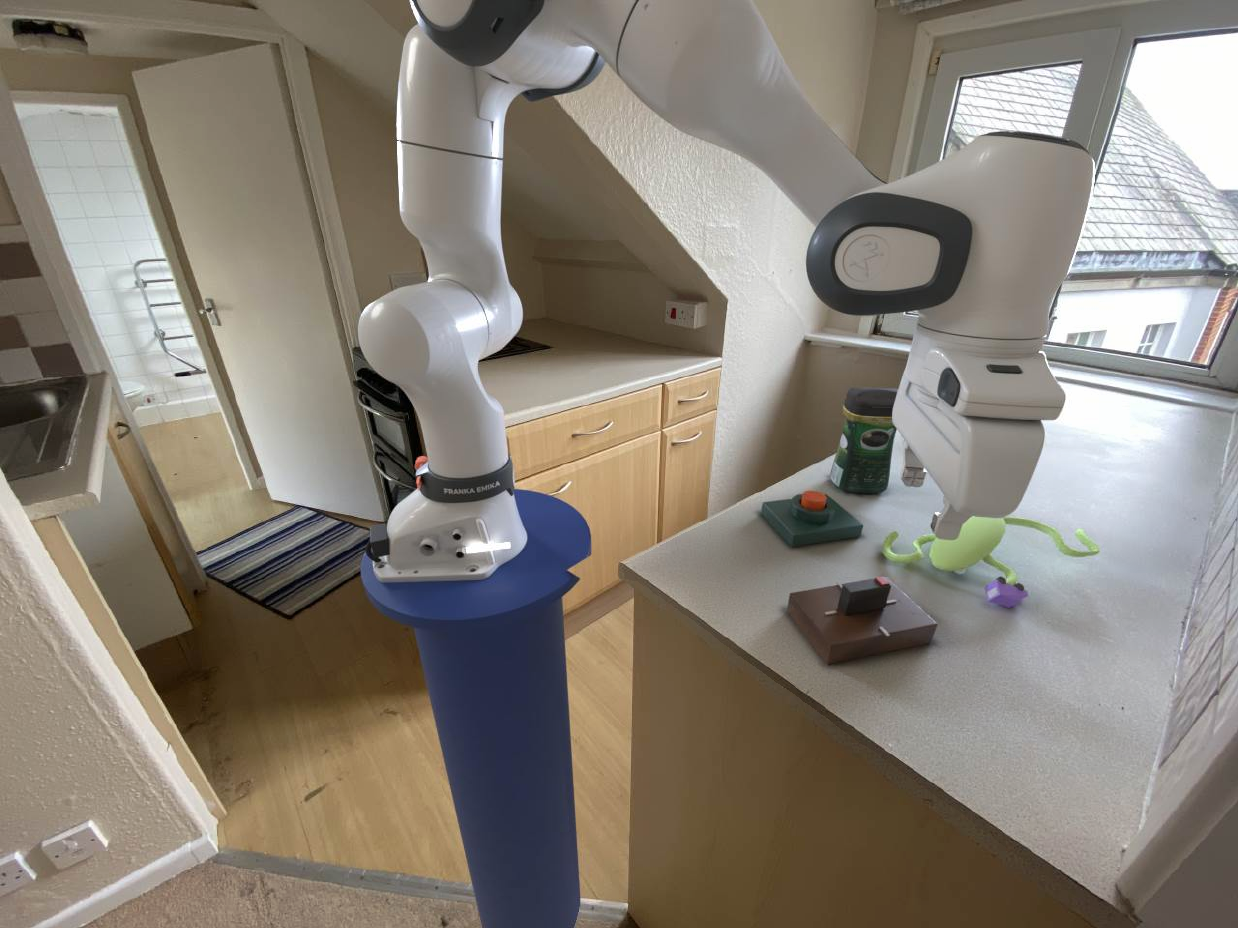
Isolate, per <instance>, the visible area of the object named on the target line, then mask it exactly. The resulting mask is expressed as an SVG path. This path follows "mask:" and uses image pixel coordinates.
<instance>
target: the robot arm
mask: <svg viewBox="0 0 1238 928" xmlns="http://www.w3.org/2000/svg"><path fill="white" fill-rule="evenodd" d="M409 4H410V7H411V9H412V12H413V14H414V17H415V20H416V21H417V24H415V25H414V26H413V27H412V28H411V29H409V31H408V32H407V34H406V36H405V38H404V42H403V46H402V52H401V59H400V64H399V65H400V66H399V68H400V69H399V76H398V85H397V99H396V101H397V102H396V139H397V140H398V141H396V145H397V147H396V148H397V173H398V175H397V176H398V199H399V200H398V201H399V215H400V219H401V221H402V223H403V225H404V226H405V228H406V229H407V231H408V232H409V233H410V234H411V235H412V236H414V237H415V238H416V239H418V242H419V244H420V246H421V248H422V251H423V253H424V258H425V260H426V265H427V269H428V280H427V281H425V282H420V283H416V284H410V285H406V286H405V285H404V286H400V287H398V288H395V289H394V290H391V291H390V292H387V293H386V294H384V295H382V296H381V297H379V298H378V299H376V300H374V301H373V302H371V303H370V304H368V305H367V306H366V307H365V308H364V309H363V311H362V312H361V314H360V316H359V320H358V323H357V336H358V343H359V348H360V349H361V353H362V354H363V356H364V359H365V360H366V361H367V363H368V364H369V366H370V367H371V368H372V369H373V370H374V371H375V372H376V373H377V374H378V375H379V376H381V377H382V378H383V379H385V380H387V381H388V382H390V383H393V384H395V385H396V386H398V387H399V388H400V389H401V390H402V391H403V392H404V393H405V395H406V396H407V398H408V400H409V402H411V404H412V406H413V408H414V410H415V412H416V415H417V417H418V420H419V423H420V428H421V432H422V437H423V442H424V446H425V451H426V455H425V456H424V455H421V456H418V457H416V460H415V464H414V469H415V482H416V489H415V490H414V491H412V492H411V493H410V494H409V495H407V496H406V497H405V498H403V499H402V500H401V501H399V502H398V503H397V504H396V506H394V508H393V509H392V511H391V513H390V515H389V517H388V520H387V523H386V522H383V523H379V524H375V525H374V524H373V525H370V526H369V539H368V542H367V544H366V546H365V551H364V553H365V552H366V554H367V556H368V557H369V558H370V559H371V560H373V570H374V574H375V576H376V578H377V579H378V580H379V581H380V582H385V583H389V582H426V581H461V580H483V579H486V578H487V577H489V576H490V575H491V574H492V573H493V572H494V571H495V570H496V569H497V568H498V567H499V566H500V565H502V564H504V563H505V562H507V561H509V560H511V559H512V558H514V557H515V556H516V555H518V554H519V553H520V552H521V551H522V549H523V548H524V547H525V545H526V542H527V532H526V530H525V528H524V526H523V524H522V521H521V519H520V516H519V512H518V509H517V505H516V502H515V497H514V491H515V489H516V480H515V479H516V478H515V469H514V464H513V461H512V460H513V459H512V456H511V454H510V452H509V449H508V440H507V439H508V438H507V429H506V420H505V411H504V408H503V405H502V404H501V403H500V402H499V400H498V399H496V398H495V397H494V396H492V395H490V394H488V393H487V392H486V389H485V388H484V385H483V383H482V380H481V376H480V374H479V366H478V365H479V361H481V360H483V359H485V358H487V357H489V356H491V355H493V354H495V353H497V352H499V351H501V350H502V349H503V348H505V347H506V346H507V345H508V344H509V343H510V342H511V340H513V338H514V337H515V336H516V335H517V334H518V332H519V331H520V329H521V326H522V324H523V319H524V309H523V305H522V301H521V299H520V297H519V294H518V293H517V291H516V290H515V289H514V287H513V286H512V285H511V283H510V279H509V275H508V271H507V267H506V261H505V257H504V250H503V244H502V242H503V241H502V230H501V228H502V227H501V225H502V223H501V220H502V219H501V217H502V192H503V191H502V188H503V165H504V160H503V159H504V131H505V121H506V116H507V112H508V110H509V109H508V108H509V106H510V104H511V103H512V101H514V99H515V98H516V97H517V96H519V95H520V94H521V95H522V97H523V98H525V99H526V100H527V101H529V102H532V103H534V102H538V101H540V100H544V99H547V98H551V97H555V96H562V95H565V94H570V93H573V92H577V91H579V90H582V89H584V88H586V87H588V86H589V85H591V83H593V82H594V81H595V80H596V79H597V78H598V77H599V75H600V74H601V72H602V71H603V69H604V67H605V65H606V64H608V66H609V67H610V68H611V70H612V71H613V72H614V73H615V74H616V75H617V77H618V78H619V79H620V80H621V81H622V82H623V83H624V85H626V87H627V88H628V89H629V90H630V91H631V92H632V93H633V94H634V95H635V97H636V98H637V99H638V100H640V101H641V102H642V103H643V104H644V105H645V106H646V107H647V108H648V109H650V110H651V111H652V112H653V113H655V114H656V115H657V116H658V117H660V118H661V119H662V120H663V121H665V122H666V123H668V124H669V125H671V126H672V127H674V128H675V129H677V130H678V131H680V132H682V133H683V134H685V135H688V136H690V137H693V138H695V139H697V140H701V141H704V142H706V143H709V144H712V145H715V146H717V147H719V148H722V149H724V150H727V151H729V152H731V153H733V154H736V155H737V156H739V157H741V158H743V159H745V160H746V161H748V162H750V163H751V164H752V165H754V166H755V167H756V168H758V169H759V170H760V171H761V172H763V174H765V175H766V176H767V177H768V178H769V180H771V181H772V182H773V183H774V184H775V186H776V187H778V189H779V190H780V191H781V192H782V193H783V194H784V195H785V196H786V197H787V198H788V200H789V201H790V202H791V203H792V204H793V205H794V206H795V207H796V208H797V209H798V210H799V211H800V212H801V213H802V215H804V217H805V218H806V219H807V220H808V221H809V222H810V223H811V224H812V225H813V226H814V228H815V229H814V230H813V233H812V235H811V237H810V240H809V242H808V246H807V250H806V254H805V255H806V256H805V268H806V275H807V280H808V282H809V285H810V287H811V289H812V292H813V293H814V294H815V295H816V297H817V298H818V299H819V300H820V301H821V302H822V303H823V304H824V305H825V306H827V307H828V308H830V309H832V310H833V311H836V312H838V313H841V314H844V315H848V316H849V315H850V316H854V317H874V316H880V315H889V314H891V315H892V314H901V313H908V312H909V313H910V312H917V313H918V317H917V321H916V325H915V330H914V333H913V337H912V342H911V345H910V350H909V353H908V358H907V362H906V366H905V368H904V371H903V373H902V376H901V380H900V383H899V385H898V388H897V389H898V392H897V395H896V399H895V402H894V406H893V411H892V423H893V425H894V426H895V427H896V429H897V430H896V431H897V432H898V433H899V434H900V436H901V437H902V438H903V440H902V441H903V442H902V468H901V471H900V475H899V478H900V480H901V481H902V482H903V484H904V486H906V487H907V488H908V487H909V488H911V487H913V488H920V487H922V486H923V485H924V483H925V479H926V475H927V473H928V474H929V476H930V477H931V479H932V480H933V482H934V483H935V484H936V486H937V487H938V489H939V490H940V491H941V493H942V494H943V498H942V503H943V504H944V505H943V507H942V509H941V510H940V511H939V512H936V511H934V513H933V515H932V519H931V522H930V529H931V532H932V534H935V536H936V537H937V538H938V539H944V540H955V539H957V538H958V537H959V534H960V531H961V528H962V525H963V524H964V523H965V522H966V521H967V520H969V519H970V518H971V517H972V516H975V517H986V518H1004V517H1006V516H1007V517H1009V515H1011V514H1013V513H1014V512H1015V511H1016V510H1018V507H1019V506H1020V504H1021V503H1022V501H1023V498H1024V497H1025V494H1026V492H1027V490H1028V487H1029V486H1030V483H1031V481H1032V478H1033V476H1034V473H1035V471H1036V468H1037V465H1038V463H1039V460H1040V458H1041V455H1042V452H1043V449H1044V444H1045V438H1046V437H1045V436H1046V431H1045V426H1044V424H1043V421H1056V420H1057V419H1058V418H1059V417H1060V415H1061V413H1062V411H1063V410H1064V406H1065V403H1066V399H1067V398H1066V397H1067V396H1066V392H1065V391H1064V389H1063V387H1062V386H1061V384H1060V382H1059V381H1058V380H1057V378H1056V376H1055V375H1054V373H1053V372H1052V370H1051V368H1050V365H1049V363H1048V359H1047V355H1046V354H1045V352H1044V351H1042V350H1043V346H1044V344H1045V341H1046V339H1047V335H1048V332H1049V330H1050V329H1049V328H1050V310H1051V306H1052V305H1051V304H1052V302H1053V299H1054V297H1055V295H1056V293H1057V291H1058V289H1059V288H1060V287H1061V286H1062V284H1063V283H1064V281H1065V280H1066V279H1067V277H1068V275H1069V272H1070V271H1071V267H1072V265H1073V262H1074V259H1075V256H1076V254H1077V250H1078V247H1079V244H1080V241H1081V239H1082V235H1083V231H1084V227H1085V225H1086V221H1087V217H1088V213H1089V208H1090V205H1091V200H1092V196H1093V191H1094V184H1095V175H1096V172H1095V171H1096V168H1095V161H1094V158H1093V157H1092V156H1091V154H1090V152H1089V151H1088V150H1087V148H1085V147H1084V146H1083V145H1082V144H1080V143H1079V142H1076V141H1074V140H1072V139H1067V138H1065V137H1062V136H1058V135H1052V134H1045V133H1039V132H1032V131H1031V132H1030V131H1019V130H1018V131H1009V130H1000V131H990V132H987V133H984V134H980V135H978V136H976V137H975V138H974V139H973V140H971V141H970V142H969V143H968V144H966V145H965V146H963V147H962V148H961V149H959V150H957V151H955V152H953V153H952V154H950V155H949V156H947V157H945V158H942V159H941V160H939V161H937V162H935V163H933V164H931V165H929V166H927V167H926V168H922V169H921V170H919V171H916V172H914V173H912V174H909V175H907V176H904V177H902V178H900V179H896V180H894V181H891V182H887V181H884V180H883V179H881V178H879V177H878V176H876V175H875V174H874V173H873V172H871V171H870V170H869V169H868V168H867V167H866V166H865V165H864V164H863V163H862V162H861V161H860V160H859V159H858V157H857V156H856V155H855V154H854V153H853V152H852V151H851V150H850V148H849V147H848V146H847V145H846V144H845V143H844V142H843V141H842V140H841V139H840V138H839V136H838V135H837V134H836V133H835V132H834V131H833V130H832V129H831V127H829V125H828V124H827V123H826V122H825V121H824V120H823V118H822V117H820V116H819V114H817V112H816V111H815V110H814V108H813V107H812V105H811V103H810V102H809V101H808V99H807V98H806V97H805V95H804V93H803V91H802V90H801V88H800V87H799V85H798V83H797V82H796V80H795V78H794V76H793V74H792V72H791V70H790V68H789V67H788V65H787V63H786V60H785V59H784V57H783V55H782V52H781V51H780V49H779V47H778V45H777V43H776V41H775V39H774V37H773V36H772V33H771V32H770V30H769V28H768V26H767V24H766V22H765V20H764V18H763V16H762V15H761V12H760V11H759V9H758V7H757V6H756V4H755V2H754V0H409ZM371 548H372V551H373V553H372V551H371Z"/></svg>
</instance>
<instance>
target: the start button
mask: <svg viewBox="0 0 1238 928" xmlns="http://www.w3.org/2000/svg"><path fill="white" fill-rule="evenodd" d="M802 494H803V495H802V500H801V505H802V506H803V507H805V508H807V509H809V510H816V511H818V510H823V509H824V508H825V503H826V496H825V495H824V494H825V493H822V492H820V491H818V490H806V491H804V492H803V493H802Z"/></svg>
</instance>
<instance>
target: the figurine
mask: <svg viewBox="0 0 1238 928" xmlns="http://www.w3.org/2000/svg"><path fill="white" fill-rule="evenodd" d="M1006 525H1010V526H1020V527H1025V528H1030V529H1034V530H1036V531H1040V532H1042V533H1043V534H1044V533H1045V534H1046V535H1049V536H1050V537H1051V539H1052V540H1053V542H1054V546H1055V547H1056V548H1057V550H1058V552H1060V553H1062V554H1063V555H1065V556H1068V557H1072V558H1084V557H1089V556H1090V557H1093V556H1095V555H1097V554H1099V553H1100V552H1101V547H1100V546H1099V545H1098V544H1097V543H1095V541H1093V540H1092V539H1091V538H1089V536H1088V535H1087V534H1086V531H1085V530H1084V529H1082V528H1077V529H1076V530H1075V532H1074V536H1075V537H1076V538H1077V539H1078V540H1079V542H1080V543H1081V544H1082V545H1084V546H1085V547H1086V548H1087V549H1088V551H1086V550H1085V551H1083V550H1078V549H1075V548H1072V547H1071V546H1068V545H1067V544H1066V543H1065V541H1064V539H1063V536H1062V534H1061V533H1060V531H1059V530H1057V528H1055V527H1053V526H1051V525H1048V524H1046V523H1043V522H1041V521H1036V520H1033V519H1029V518H1022V517H1015V516H1006V517H1004V518H986V517H975V516H972V517H971V518H970V519H969V520H967V521H966V522H965V523H964V524H963V525H962V528H961V531H960V534H959V537H958V538H957V539H955V540H944V539H938V538H937V537H936V536H935V534H934V533H926V534H924V535H921V536H919V537H918V538H916V539H915V540H914V541H912V546H913V547H914V548H915V549H916V551H915V552H913V553H909V554H896V553H894V552H893V551H892V550H891V547H892V544H893V543H894V541H895V540H896V539H897V538H898V537H899V536H900V533H899V532H897V531H891V532H890V533H889V534H888V535H887V536H886V537H885V539H884V540H883V542H882V546H881V552H882V554H883V556H884V557H885V558H887V560H888V561H891V562H893V563H899V564H912V563H916V562H919V561H920V560H922V559H924V554H923V552H922V549H921V547H922V546H924V545H925V544H927V543H930V542H932V543H931V545H930V549H929V554H928V557H929V560H930V562H931V565H932V567H934V568H936V569H937V570H940V571H944V572H954V573H955V574H958V575H959V576H963V575H964V574H965V573H966V572H967V568H969V567H972V566H975V565H976V564H977V563H979V562H980V561H983V562H984V563H985V564H987V565H989V566H991V567H993V568H995V569H997V570H999V571H1000V572H1003V573H1004V575H1005V577H1004V576H997V577H996V579H995V580H994V581H992V582H990V583H988V584H987V585H986V584H985V585H984V586H983V587H984V591H985V596H986V600H987V602H989V603H992V604H995V605H998V606H1001V607H1005V608H1009V609H1010V608H1012V607H1014V606H1017V605H1019V604H1020V603H1022V600H1023V599H1025V598H1026V597H1029V592H1028V590H1025V586H1024V585H1023V584H1022V583H1020V582H1018V577H1017V574H1016V571H1015V570H1013V569H1012V568H1011V567H1009V566H1008V565H1005V564H1004V563H1003V562H1001V561H999V560H997V559H996V558H994V557H993V556H992V555H991V554H992V552H993V551H994V550H995V549H996V548H997V547H998V546H999V545H1000V543H1001V542H1002V539H1003V537H1004V535H1005V533H1006Z"/></svg>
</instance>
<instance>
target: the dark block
mask: <svg viewBox="0 0 1238 928" xmlns="http://www.w3.org/2000/svg"><path fill="white" fill-rule="evenodd" d="M884 577H885V576H883V575H882V576H877V577H875V579H874V578H870V579H863V580H857V581H851V582H852V583H851V582H847V583H842V584H843V586H842V590H841V594H840V598H839V602H838V608H839V609H840V610H841V611H842V612H843V613H844V614H845V615H850V614H855V613H861V612H866V611H871V610H877V609H882V608H885V606H886V603H887V599H888V596H889V592H890V589H891V584H890V583H889V582H888V581H887V580H886V579H885V578H884Z"/></svg>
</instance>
